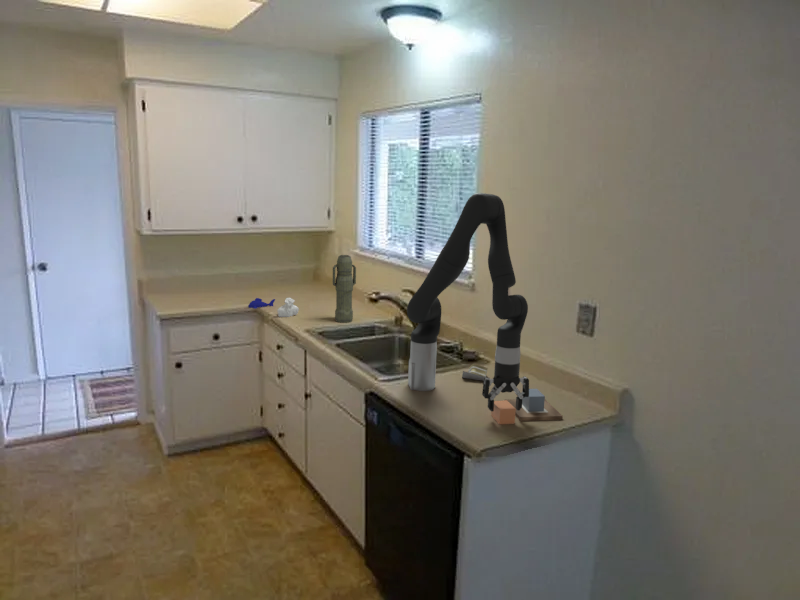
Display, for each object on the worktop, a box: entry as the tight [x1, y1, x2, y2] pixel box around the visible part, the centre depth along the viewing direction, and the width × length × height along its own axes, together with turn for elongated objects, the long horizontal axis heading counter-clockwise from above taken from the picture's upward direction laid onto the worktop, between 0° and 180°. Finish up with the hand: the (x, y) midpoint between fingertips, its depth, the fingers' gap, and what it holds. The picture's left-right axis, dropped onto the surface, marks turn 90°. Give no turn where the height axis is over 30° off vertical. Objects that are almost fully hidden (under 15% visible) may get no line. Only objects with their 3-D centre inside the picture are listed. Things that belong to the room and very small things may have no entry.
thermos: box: [332, 254, 357, 324], centre depth 292 cm, size 9×12×35 cm
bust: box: [277, 297, 300, 318], centre depth 303 cm, size 12×8×11 cm, turn 125°
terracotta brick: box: [490, 399, 516, 425], centre depth 179 cm, size 5×7×5 cm
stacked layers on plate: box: [461, 363, 491, 382], centre depth 217 cm, size 10×9×6 cm
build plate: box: [504, 398, 564, 422], centre depth 187 cm, size 14×15×1 cm
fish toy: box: [248, 297, 276, 309], centre depth 320 cm, size 15×8×7 cm, turn 115°
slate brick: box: [521, 388, 546, 412], centre depth 186 cm, size 5×7×5 cm
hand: (504, 410), depth 179 cm, fingers open, 8 cm apart
